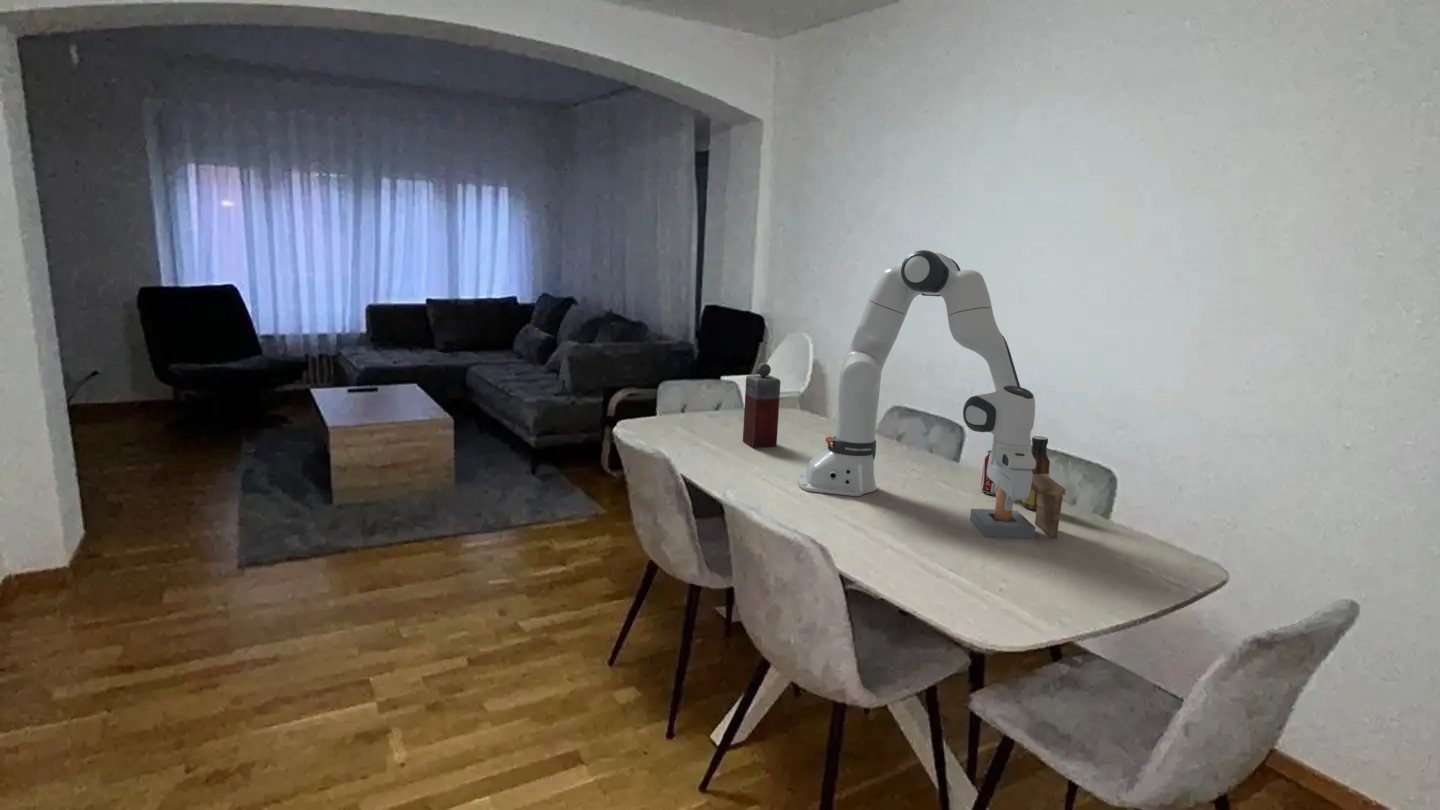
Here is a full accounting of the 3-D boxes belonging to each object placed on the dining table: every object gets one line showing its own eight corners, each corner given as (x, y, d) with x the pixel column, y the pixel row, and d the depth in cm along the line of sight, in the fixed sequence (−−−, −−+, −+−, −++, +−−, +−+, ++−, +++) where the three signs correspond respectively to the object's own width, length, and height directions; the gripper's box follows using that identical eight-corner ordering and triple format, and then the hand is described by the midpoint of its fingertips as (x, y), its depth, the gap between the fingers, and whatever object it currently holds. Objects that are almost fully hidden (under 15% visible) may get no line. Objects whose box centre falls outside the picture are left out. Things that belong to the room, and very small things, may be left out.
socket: (984, 536, 193) (986, 525, 192) (969, 519, 204) (971, 508, 204) (1033, 538, 193) (1035, 527, 192) (1015, 521, 205) (1017, 510, 204)
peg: (996, 528, 197) (1002, 482, 194) (990, 523, 200) (996, 478, 198) (1012, 529, 197) (1018, 483, 194) (1006, 523, 200) (1012, 478, 198)
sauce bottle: (1044, 506, 218) (1054, 436, 214) (1046, 513, 212) (1056, 441, 208) (1019, 502, 220) (1028, 433, 216) (1020, 509, 214) (1029, 438, 210)
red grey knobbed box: (763, 438, 277) (767, 360, 272) (776, 447, 267) (781, 365, 261) (739, 440, 274) (743, 360, 268) (752, 448, 264) (757, 365, 258)
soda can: (1006, 497, 224) (1011, 456, 222) (981, 495, 225) (986, 454, 223) (1003, 490, 231) (1008, 450, 228) (979, 488, 232) (983, 448, 229)
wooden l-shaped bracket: (1031, 538, 193) (1038, 488, 190) (1014, 521, 204) (1020, 473, 202) (1058, 540, 193) (1065, 489, 190) (1039, 522, 205) (1045, 474, 202)
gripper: (984, 441, 205) (977, 492, 208) (1012, 463, 185) (1005, 519, 188) (1008, 442, 205) (1001, 493, 208) (1039, 464, 185) (1031, 520, 188)
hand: (1003, 505), depth 197 cm, fingers open, 4 cm apart
